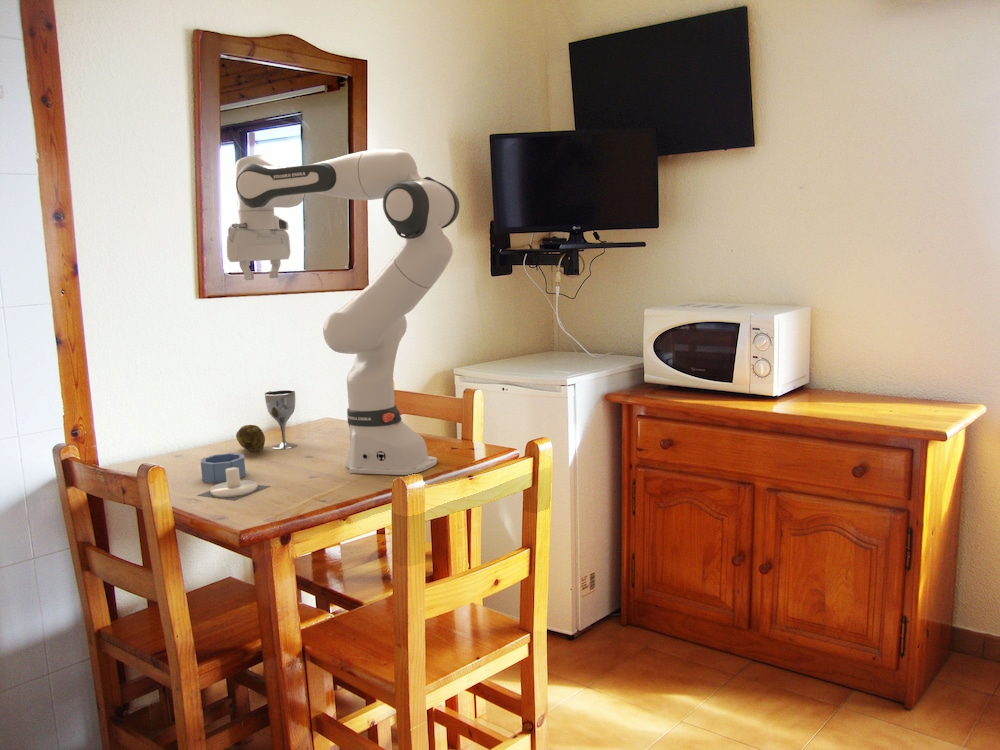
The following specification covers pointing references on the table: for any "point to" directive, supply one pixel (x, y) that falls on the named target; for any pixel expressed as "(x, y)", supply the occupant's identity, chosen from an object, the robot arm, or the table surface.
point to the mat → (207, 494)
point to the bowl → (221, 466)
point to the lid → (233, 485)
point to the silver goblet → (281, 411)
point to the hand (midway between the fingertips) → (262, 279)
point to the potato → (251, 437)
